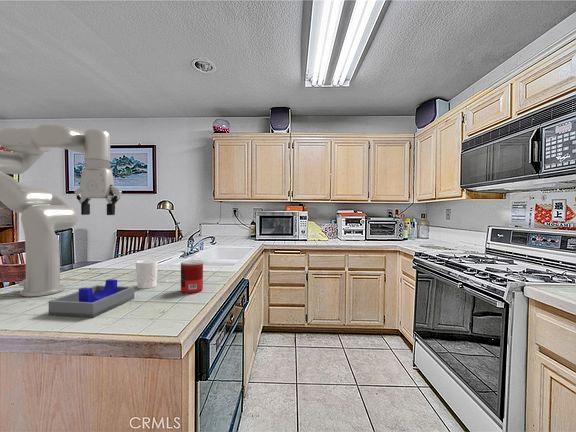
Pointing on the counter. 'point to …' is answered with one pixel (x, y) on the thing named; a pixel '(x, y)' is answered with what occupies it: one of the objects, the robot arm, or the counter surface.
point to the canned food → (191, 276)
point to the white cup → (146, 273)
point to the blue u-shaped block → (108, 290)
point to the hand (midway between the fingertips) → (98, 214)
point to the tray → (89, 303)
